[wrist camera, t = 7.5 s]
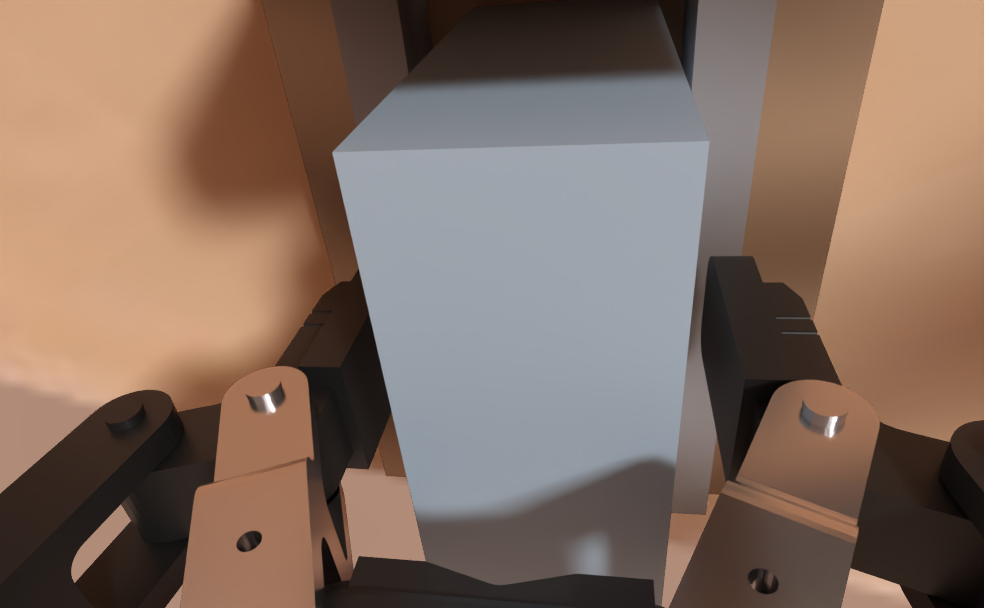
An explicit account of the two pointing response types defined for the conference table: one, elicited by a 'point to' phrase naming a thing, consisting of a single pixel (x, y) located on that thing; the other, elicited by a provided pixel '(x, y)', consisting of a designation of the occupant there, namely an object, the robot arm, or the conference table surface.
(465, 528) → the gray rectangular block
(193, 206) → the conference table surface
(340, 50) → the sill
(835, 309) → the conference table surface
